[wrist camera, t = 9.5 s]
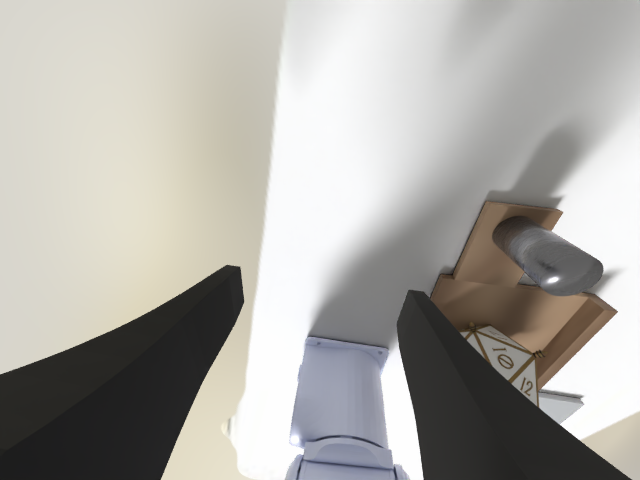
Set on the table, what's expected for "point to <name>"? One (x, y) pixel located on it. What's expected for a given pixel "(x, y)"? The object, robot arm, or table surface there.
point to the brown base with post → (522, 300)
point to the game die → (507, 357)
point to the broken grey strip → (558, 406)
